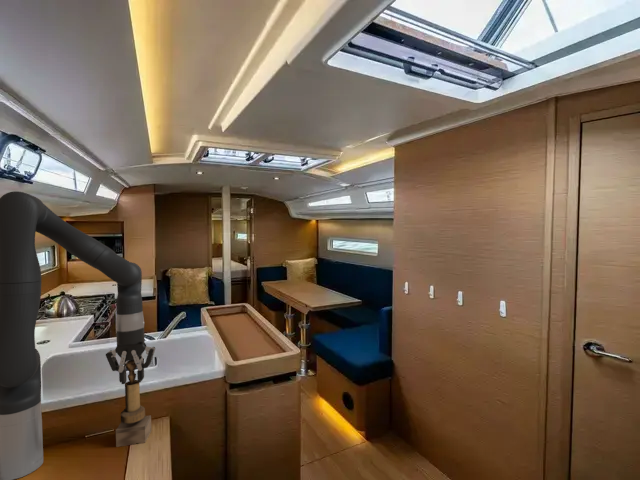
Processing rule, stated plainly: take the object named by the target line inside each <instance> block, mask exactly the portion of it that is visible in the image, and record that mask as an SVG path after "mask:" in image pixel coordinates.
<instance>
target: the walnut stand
mask: <svg viewBox="0 0 640 480" xmlns="http://www.w3.org/2000/svg"><path fill="white" fill-rule="evenodd" d="M151 433H152V415H145V417H144V418H143V419H141V420H139V421H137V422H134V423H129V424H128V423H122V422H121V421H120V423H119V425H118V427H117V428H115V447H116V448H118V447H119V448H120V447H126V446H132V444H133V445H137V444H136V443H140V444H144V443H145V442H147V441H148V439H149V437H150V434H151ZM146 440H147V441H146Z"/></svg>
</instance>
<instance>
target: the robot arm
mask: <svg viewBox="0 0 640 480" xmlns="http://www.w3.org/2000/svg"><path fill="white" fill-rule="evenodd" d="M36 233H38V234H40V235H43V236H44V237H46V238H48V239H50V240H51V241H53V242H55V243H56V244H58V245H59V246H60V247H61V248H63V249H64V250H65V251H67V252H68V253H69V254H71V255H72V256H74V257H76V258H77V259H78V260H80V261H81V262H84V263H85V264H86V265H89V266H91V268H94V269H95V270H98V271H99V272H101V273H102V274H103V275H104V276H106V277H108V278H109V279H110V280H111V281H113V282H115V283H116V286H117V296H116V303H115V304H116V306H115V307H116V320H115V329H116V331H115V332H116V333H115V335H116V337H115V339H116V347H115V349H113V350H109V351H108V352H106V353H105V358H106V360H107V362H108V365H109V367H110V369H111V371H112V372H118V373H119V375H118V377H119V378H118V379H119V380H118V381H119V383H121V385H125V383H126V382H128V381H127V368H126V363H127V362H128V361H129V360H134V361H135V364H136V365H137V366H136V368H137V371H136V377H137V378H136V379H137V380H138V383H139V384H140V383H141V382H143V379H144V378H145V369H147V368H149V366H150V365H151V363H152V360H153V357H154V355H155V351H156V347H155V346H151V347H150V346H147V344H146V342H145V319H144V318H145V317H144V311H143V310H144V308H143V305H144V304H143V296H142V284H143V283H142V282H143V281H142V280H143V279H142V278H143V273H142V268H141V267H140V266H139V265H138V264H137V263H135V262H131V261H129V260H127V259H125V258H123V257H122V256H121V255H119V254H117V253H116V252H115V251H114V250H113V249H112V248H111V247H109V246H107V245H105V244H104V243H102V242H100V241H98V240H97V239H96V238H94V237H92V236H90V235H89V234H87V233H85V232H84V231H82V230H79V228H76V227H75V226H72V225H71V224H70V223H68V222H67V221H65V220H64V219H63V218H62V217H59V216H58V215H57V214H56V213H54V212H53V211H52V210H51V209H50V208H49V207H48V206H47V205H46V204H45V203H43V201H42V200H41V199H39V198H38V197H36V196H34V195H32V194H30V193H27V192H24V191H16V190H15V191H9V192H6V193H4V194H3V195H1V197H0V480H16V479H20V478H22V477H25V476H28V475H29V474H31V473H33V472H34V471H36V470H38V469H39V468H40V467H41V466H42V465H43V464H44V448H43V447H44V445H43V444H44V443H43V442H44V441H43V439H44V438H43V417H42V369H41V368H42V367H41V366H42V365H41V362H42V361H41V355H40V352H39V350H38V349H36V340H35V337H36V336H35V333H36V332H35V331H36V324H37V320H38V316H39V310H40V306H41V300H42V299H41V297H42V270H41V266H40V261H39V258H38V254H37V250H36ZM145 351H146V352H145ZM144 352H145V354H146V355H147V356H146V360H145V361H144V359H143V358H144V357H143V354H144ZM117 355H118V357H119V358H120V361H119V362H118V360H117V358H116V356H117Z"/></svg>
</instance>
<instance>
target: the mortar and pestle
mask: <svg viewBox="0 0 640 480" xmlns="http://www.w3.org/2000/svg"><path fill="white" fill-rule="evenodd" d="M136 368H137V365H136V364H135V361H134V360H129V361H127V363H126V368H125V369H126V371H128V375H127V378H128V381H126V383H125V384H124V396H125V402H124V404H125V408H124V409H123V410H122V411H121V413H120V423H121V422H122V423H128V424H129V423H134V422H137V421H139V420H141V419H143V418H144V417H145V416H146V408H145V406H144V405H141V399H140V398H141V395H140V394H141V393H140V382H139V383H138V379H137V378H136V377H137V373H135V371H136Z"/></svg>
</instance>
